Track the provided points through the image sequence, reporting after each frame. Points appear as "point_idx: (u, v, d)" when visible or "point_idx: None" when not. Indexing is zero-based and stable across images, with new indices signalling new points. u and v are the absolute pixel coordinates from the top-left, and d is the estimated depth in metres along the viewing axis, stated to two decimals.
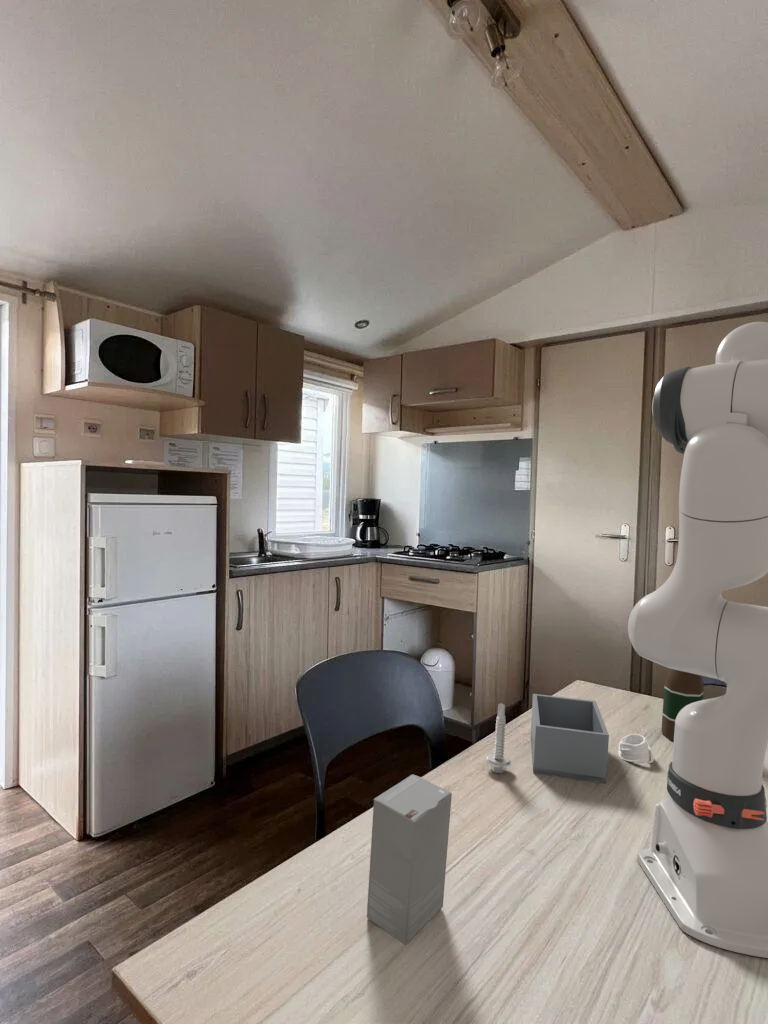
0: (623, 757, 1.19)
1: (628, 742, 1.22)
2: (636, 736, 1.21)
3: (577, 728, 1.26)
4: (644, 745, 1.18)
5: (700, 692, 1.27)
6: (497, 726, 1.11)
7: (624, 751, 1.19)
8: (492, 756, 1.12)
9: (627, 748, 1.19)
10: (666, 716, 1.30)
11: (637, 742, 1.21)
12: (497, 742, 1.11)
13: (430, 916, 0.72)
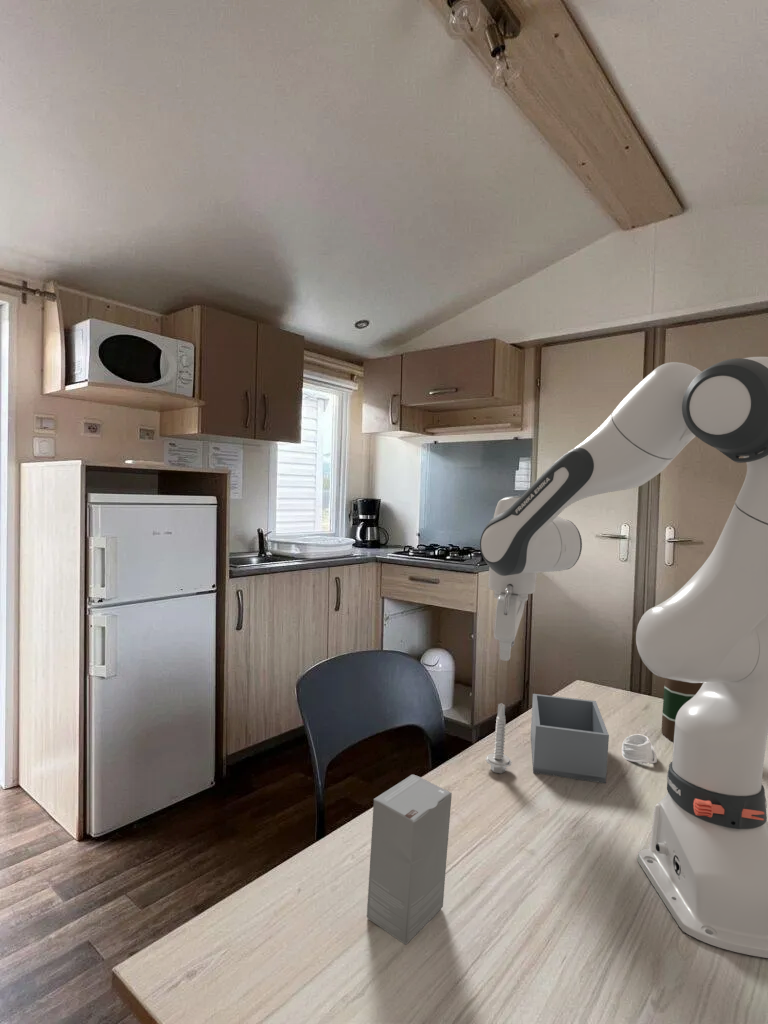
0: (626, 757, 1.19)
1: (631, 742, 1.22)
2: (639, 736, 1.21)
3: (577, 728, 1.26)
4: (647, 745, 1.18)
5: None
6: (497, 726, 1.11)
7: (627, 751, 1.19)
8: (492, 756, 1.12)
9: (630, 748, 1.19)
10: (666, 716, 1.30)
11: (640, 742, 1.22)
12: (497, 742, 1.11)
13: (430, 916, 0.72)
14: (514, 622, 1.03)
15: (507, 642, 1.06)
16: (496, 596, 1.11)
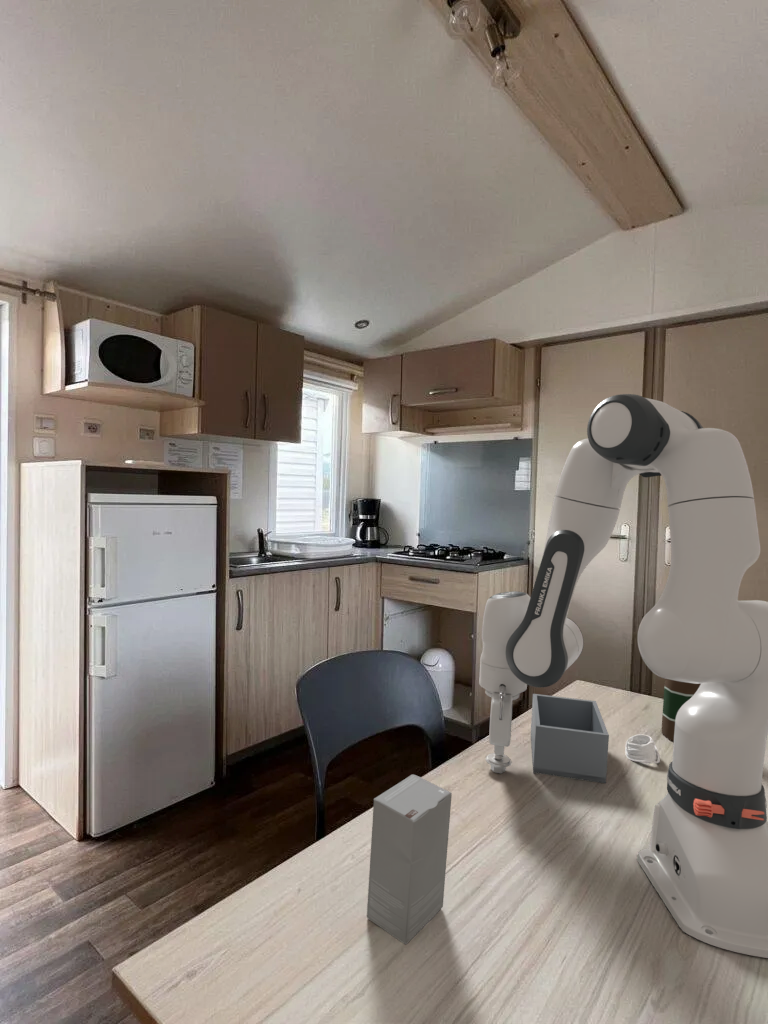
0: (630, 757, 1.19)
1: (635, 742, 1.22)
2: (643, 736, 1.21)
3: (577, 728, 1.26)
4: (651, 745, 1.18)
5: None
6: None
7: (631, 751, 1.19)
8: (492, 756, 1.12)
9: (634, 748, 1.19)
10: (666, 716, 1.30)
11: (644, 742, 1.22)
12: None
13: (430, 916, 0.72)
14: (509, 727, 1.02)
15: None
16: (488, 694, 1.10)
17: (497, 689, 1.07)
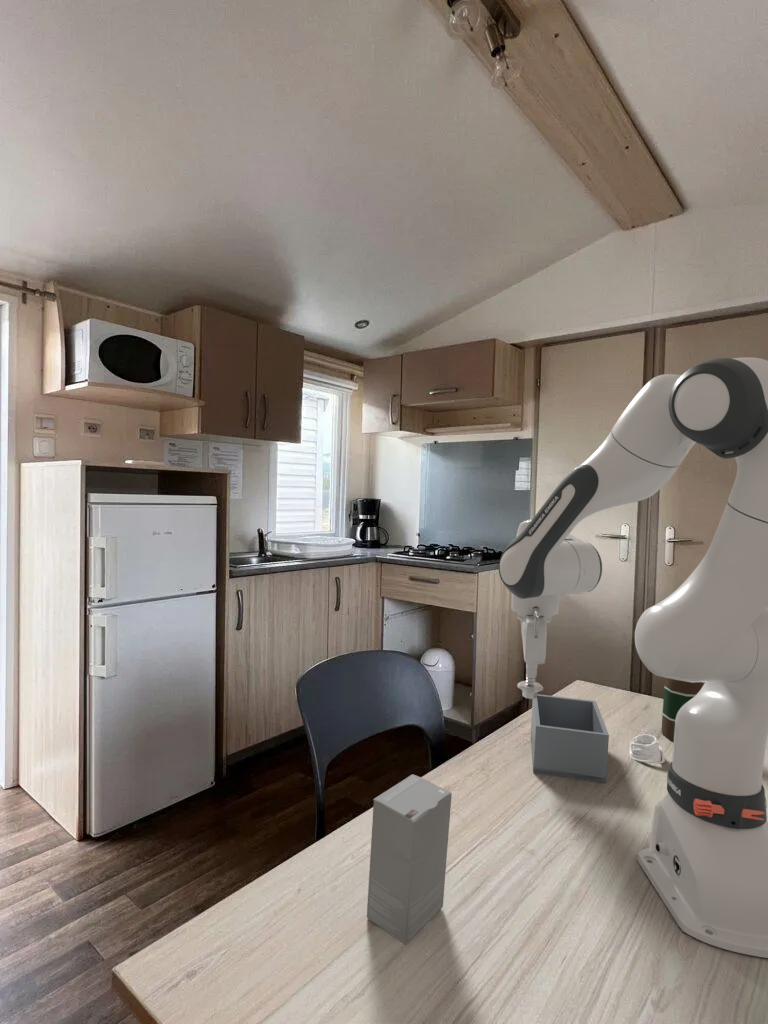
0: (634, 757, 1.19)
1: (639, 742, 1.22)
2: (647, 736, 1.21)
3: (577, 728, 1.26)
4: (655, 745, 1.18)
5: None
6: None
7: (635, 751, 1.19)
8: (524, 683, 1.14)
9: (638, 748, 1.19)
10: (666, 716, 1.30)
11: (648, 742, 1.22)
12: None
13: (430, 916, 0.72)
14: (544, 645, 1.04)
15: None
16: (520, 618, 1.12)
17: (530, 612, 1.09)
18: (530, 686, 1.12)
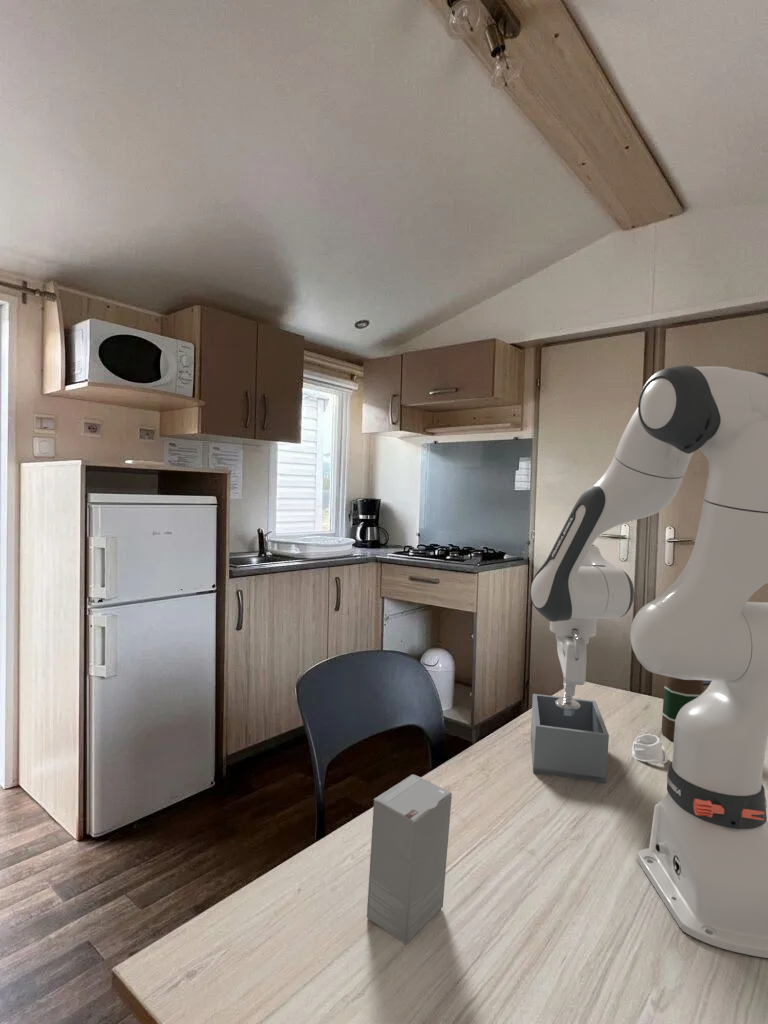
0: (637, 757, 1.19)
1: (642, 742, 1.22)
2: (650, 736, 1.22)
3: (577, 728, 1.26)
4: (658, 745, 1.18)
5: (700, 692, 1.27)
6: None
7: (638, 751, 1.19)
8: (561, 700, 1.19)
9: (641, 748, 1.19)
10: (666, 716, 1.30)
11: (651, 742, 1.22)
12: None
13: (430, 916, 0.72)
14: (585, 667, 1.08)
15: None
16: (559, 639, 1.17)
17: (570, 633, 1.14)
18: (568, 704, 1.17)
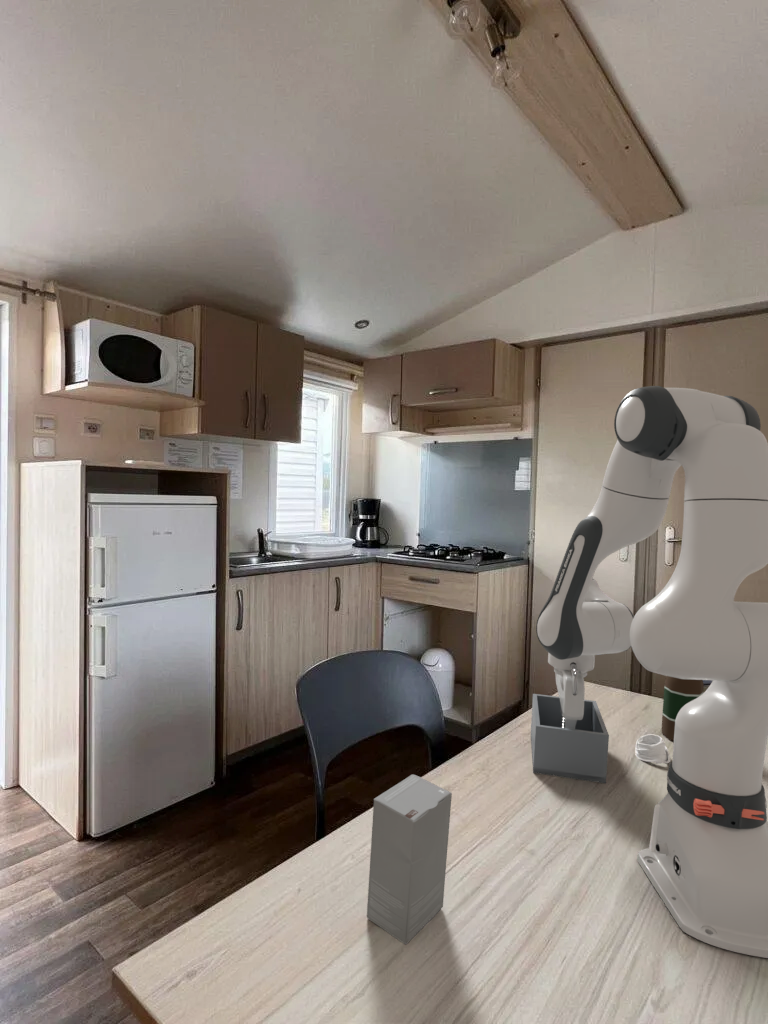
0: (640, 757, 1.19)
1: (645, 742, 1.22)
2: (653, 736, 1.22)
3: (577, 728, 1.26)
4: (661, 745, 1.18)
5: (700, 692, 1.27)
6: None
7: (641, 751, 1.19)
8: None
9: (644, 748, 1.19)
10: (666, 716, 1.30)
11: (654, 742, 1.22)
12: None
13: (430, 916, 0.72)
14: (583, 702, 1.08)
15: (573, 719, 1.12)
16: (557, 672, 1.17)
17: (568, 667, 1.14)
18: None
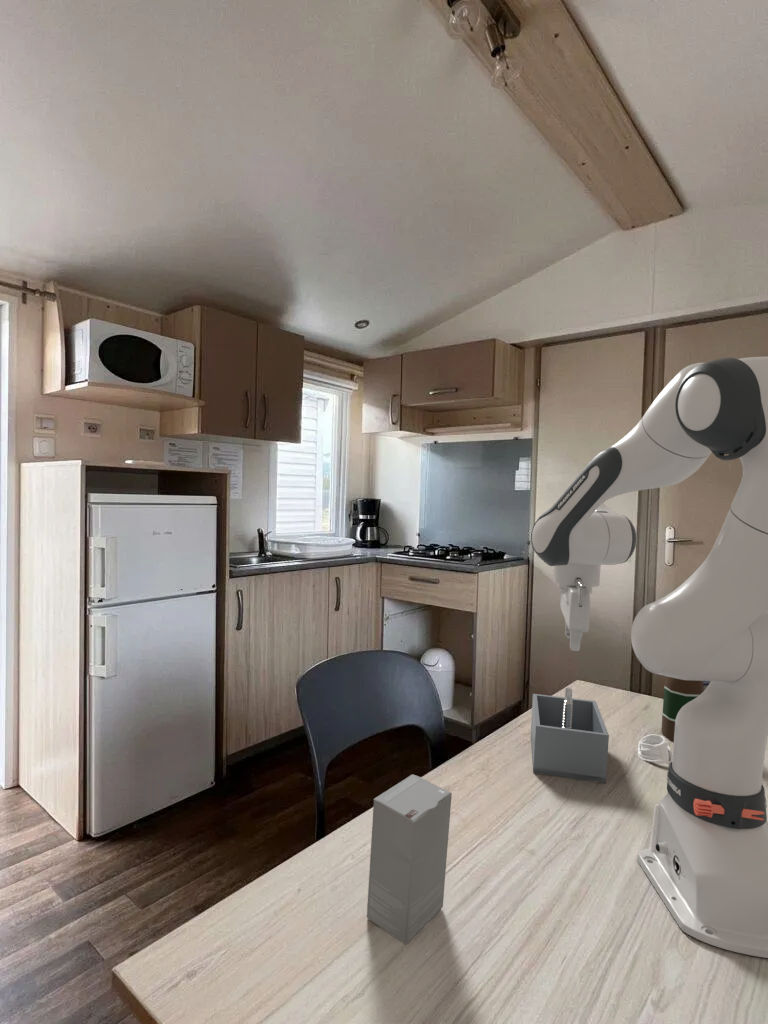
0: (643, 757, 1.19)
1: (647, 742, 1.23)
2: (655, 736, 1.22)
3: (577, 728, 1.26)
4: (664, 745, 1.18)
5: (700, 692, 1.27)
6: (565, 709, 1.19)
7: (644, 751, 1.19)
8: None
9: (647, 748, 1.19)
10: (666, 716, 1.30)
11: (656, 742, 1.22)
12: (565, 724, 1.19)
13: (430, 916, 0.72)
14: (588, 613, 1.08)
15: (578, 633, 1.11)
16: (562, 590, 1.16)
17: (573, 583, 1.13)
18: None
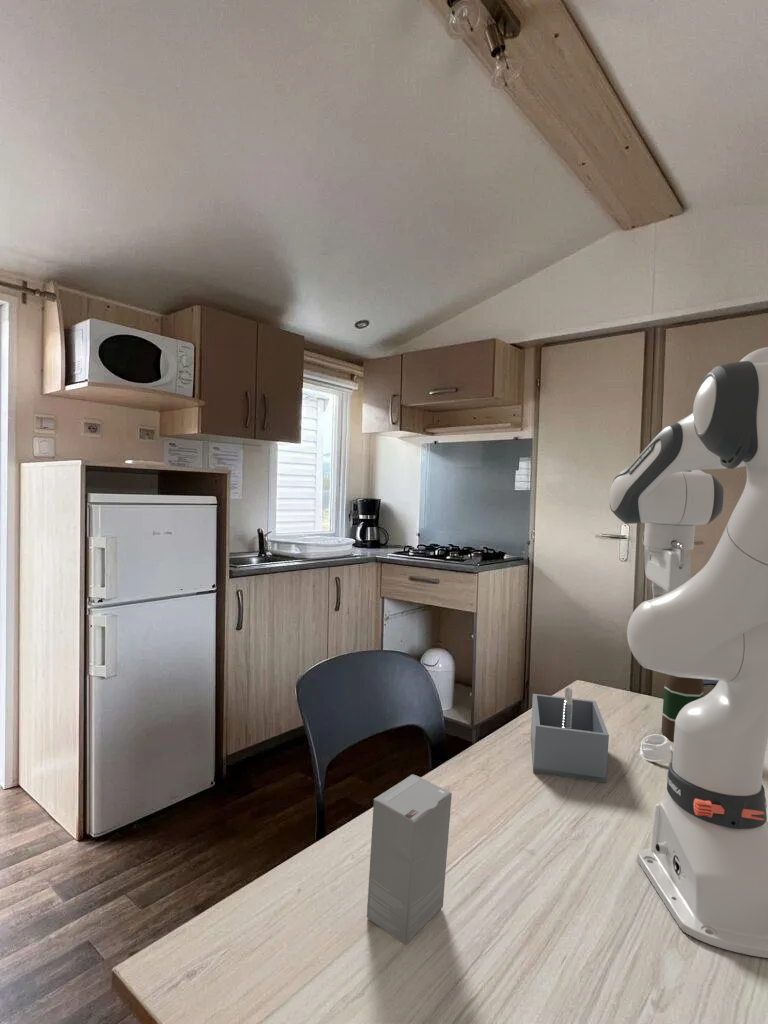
0: (645, 757, 1.20)
1: (650, 742, 1.23)
2: (658, 736, 1.22)
3: (577, 728, 1.26)
4: (666, 745, 1.18)
5: (700, 692, 1.27)
6: (565, 709, 1.19)
7: (646, 751, 1.19)
8: None
9: (649, 748, 1.19)
10: (666, 716, 1.30)
11: (659, 742, 1.22)
12: (565, 724, 1.19)
13: (430, 916, 0.72)
14: (689, 575, 1.06)
15: None
16: (655, 554, 1.14)
17: (669, 545, 1.11)
18: None
